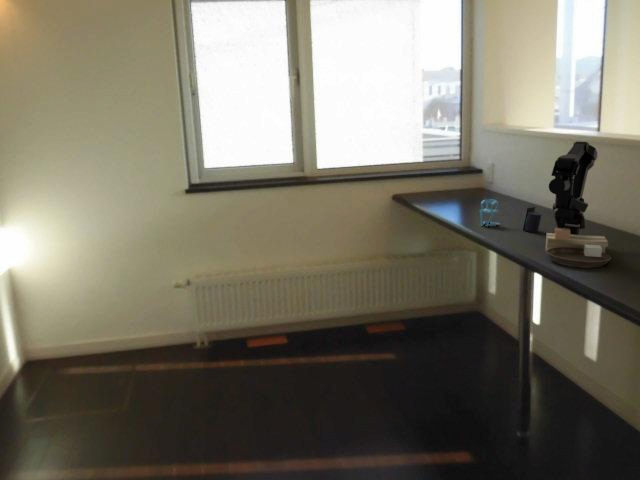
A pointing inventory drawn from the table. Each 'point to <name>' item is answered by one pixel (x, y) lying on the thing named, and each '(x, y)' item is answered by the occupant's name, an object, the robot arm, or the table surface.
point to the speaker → (532, 220)
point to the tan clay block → (562, 233)
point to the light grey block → (592, 250)
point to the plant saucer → (576, 257)
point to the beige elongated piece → (575, 241)
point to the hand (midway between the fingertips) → (560, 232)
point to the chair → (489, 212)
